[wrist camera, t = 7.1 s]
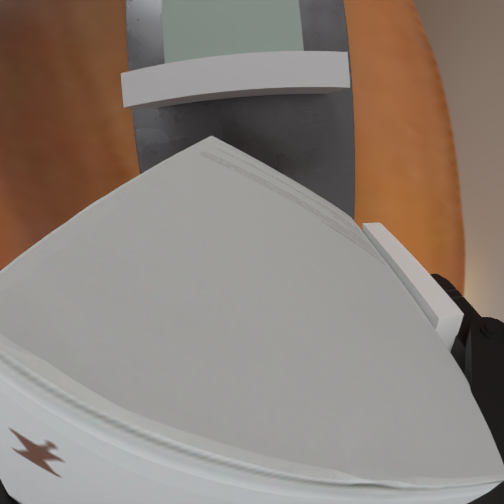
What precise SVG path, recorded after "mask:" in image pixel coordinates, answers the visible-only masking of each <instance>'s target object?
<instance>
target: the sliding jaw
mask: <svg viewBox="0 0 504 504" xmlns="http://www.w3.org/2000/svg"><path fill="white" fill-rule="evenodd" d="M161 3H162V26H163V44H164V59H165V64H161V65H156V66H151V67H146V68H142V69H137V70H133V71H129V72H124V73H121V83H122V95H123V105H124V108H158V107H164V106H171V105H177V104H184V103H191V102H198V101H207V100H215V99H225V98H235V97H248V96H262V95H282V94H328V93H332V92H335V91H339V90H343V89H347V88H350V76H349V64H348V52H335V51H304V47H303V36H302V26H301V17H300V8H299V0H161Z"/></svg>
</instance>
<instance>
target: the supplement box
mask: <svg viewBox="0 0 504 504" xmlns="http://www.w3.org/2000/svg"><path fill="white" fill-rule="evenodd" d="M0 479H1V481H2V483H3V485H4V487H5V489H6V491H7V493H8V494H9V495H10V497H12V498H13V499H14V500H15V501H16V502H18V503H19V504H467V503H469V502H471V501H473V500H475V499H477V498H479V497H481V496H482V495H484V494H486V493H488V492H489V491H491V490H492V489H493V488H495V487H496V486H497V485H499V484H500V483H501V482H503V481H504V464H503V461H502V459H501V456H500V454H499V451H498V449H497V447H496V444H495V442H494V439H493V437H492V434H491V432H490V430H489V427H488V425H487V423H486V421H485V419H484V417H483V415H482V413H481V411H480V409H479V407H478V405H477V403H476V401H475V399H474V397H473V395H472V393H471V388H470V384H469V382H468V380H467V379H466V377H465V375H464V374H463V372H462V370H461V369H460V367H459V366H458V364H457V362H456V361H455V359H454V358H453V356H452V354H451V353H450V351H449V350H448V348H447V347H446V345H445V344H444V342H443V341H442V339H441V338H440V336H439V335H438V333H437V332H436V330H435V329H434V327H433V326H432V324H431V323H430V321H429V320H428V319H427V317H426V316H425V314H424V313H423V311H422V310H421V309H420V307H419V306H418V304H417V303H416V302H415V300H414V299H413V297H412V296H411V295H410V293H409V292H408V290H407V289H406V288H405V286H404V285H403V284H402V282H401V281H400V280H399V278H398V277H397V276H396V274H395V273H394V272H393V270H392V269H391V268H390V266H389V265H388V264H387V262H386V261H385V260H384V259H383V257H382V256H381V255H380V253H379V252H378V251H377V250H376V248H375V247H374V246H373V245H372V243H371V242H370V241H369V239H368V238H367V237H366V235H365V234H364V233H363V232H362V230H361V229H360V228H359V226H358V225H357V224H356V223H355V221H354V220H353V219H352V218H351V217H350V216H349V215H347V214H346V213H345V212H343V211H342V210H340V209H339V208H337V207H336V206H334V205H333V204H331V203H330V202H328V201H327V200H325V199H323V198H322V197H320V196H319V195H317V194H315V193H314V192H312V191H311V190H309V189H307V188H306V187H304V186H302V185H301V184H299V183H297V182H295V181H294V180H292V179H290V178H289V177H287V176H285V175H283V174H282V173H280V172H278V171H276V170H275V169H273V168H271V167H269V166H268V165H266V164H264V163H262V162H260V161H259V160H257V159H255V158H253V157H251V156H249V155H248V154H246V153H244V152H242V151H240V150H238V149H237V148H235V147H233V146H231V145H229V144H227V143H225V142H223V141H221V140H219V139H217V138H215V137H214V136H210V137H208V138H206V139H204V140H202V141H200V142H198V143H196V144H194V145H192V146H190V147H188V148H187V149H185V150H183V151H181V152H179V153H177V154H175V155H173V156H172V157H170V158H168V159H166V160H164V161H162V162H161V163H159V164H157V165H156V166H154V167H152V168H150V169H149V170H147V171H145V172H144V173H142V174H140V175H138V176H137V177H135V178H133V179H132V180H130V181H128V182H127V183H125V184H123V185H122V186H120V187H118V188H117V189H115V190H114V191H112V192H110V193H109V194H107V195H106V196H104V197H102V198H100V199H98V200H97V201H95V202H94V203H92V204H91V205H89V206H88V207H87V208H85V209H84V210H82V211H81V212H79V213H78V214H77V215H75V216H74V217H73V218H71V219H70V220H69V221H67V222H66V223H64V224H63V225H61V226H60V227H58V228H57V229H55V230H54V231H52V232H51V233H50V234H48V235H47V236H45V237H44V238H43V239H41V240H40V241H39V242H37V243H36V244H34V245H33V246H32V247H30V248H29V249H28V250H27V251H25V252H24V253H23V254H21V255H20V256H19V257H17V258H16V259H15V260H14V261H12V262H11V263H10V264H9V265H7V266H6V267H5V268H4V269H2V270H1V271H0Z"/></svg>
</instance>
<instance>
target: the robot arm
mask: <svg viewBox="0 0 504 504" xmlns="http://www.w3.org/2000/svg"><path fill="white" fill-rule="evenodd" d="M362 232H363V233H364V234H365V235H366V237H367V238H368V239H369V241H370V242H371V243H372V245H373V246H374V247H375V248H376V250H377V251H378V252H379V253H380V255H381V256H382V257H383V259H384V260H385V261H386V262H387V264H388V265H389V266H390V268H391V269H392V270H393V272H394V273H395V274H396V276H397V277H398V278H399V280H400V281H401V282H402V284H403V285H404V286H405V288H406V289H407V290H408V292H409V293H410V295H411V296H412V297H413V299H414V300H415V302H416V303H417V304H418V306H419V307H420V309H421V310H422V311H423V313H424V314H425V316H426V317H427V319H428V320H429V321H430V323H431V324H432V326H433V327H434V329H435V330H436V332H437V333H438V335H439V336H440V338H441V339H442V341H443V342H444V344H445V345H446V347H447V348H448V350H449V351H450V353H451V354H452V356H453V358H454V359H455V361H456V362H457V364H458V366H459V367H460V369H461V370H462V372H463V374H464V375H465V377H466V379H467V380H468V382H469V384H470V388H471V393H472V395H473V397H474V399H475V401H476V403H477V405H478V407H479V409H480V411H481V413H482V415H483V417H484V419H485V421H486V423H487V425H488V427H489V430H490V432H491V434H492V437H493V439H494V442H495V444H496V447H497V449H498V451H499V454H500V456H501V459H502V461H503V464H504V323H503V322H501V321H499V320H497V319H494V318H491V317H481V316H480V315H479V314H478V313H477V312H476V310H475V309H474V308H473V307H472V306H471V305H470V304H469V303H468V302H467V300H466V299H465V298H464V297H462V295H461V294H460V292H459V291H458V290H456V288H455V287H454V286H453V285H452V284H451V283H450V282H449V281H448V280H447V279H445V278H443V277H442V276H440V275H438V274H429V273H428V272H427V271H426V270H425V269H424V268H423V266H422V265H421V264H420V263H419V262H418V261H417V260H416V259H415V258H414V257H413V256H412V255H411V254H410V253H409V251H408V250H407V249H406V248H405V247H404V246H403V245H402V244H401V243H400V242H399V241H398V240H397V239H396V238H395V237H394V236H393V235H392V234H391V233H390V232H389V231H388V230H387V229H386V228H385V227H384V226H383V225H382V224H381V223H363V231H362ZM0 504H19V503H18V502H16V501H15V500H14V499H13V498H12V497H10V495H9V494H8V493H7V491H6V489H5V487H4V485H3V483H2V481H1V479H0ZM467 504H504V481H503V482H501V483H500V484H499V485H497V486H496V487H495V488H493V489H492V490H491V491H489V492H488V493H486V494H484V495H482V496H481V497H479V498H477V499H475V500H473V501H471V502H469V503H467Z"/></svg>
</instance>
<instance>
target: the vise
mask: <svg viewBox="0 0 504 504" xmlns="http://www.w3.org/2000/svg"><path fill="white" fill-rule="evenodd" d="M299 8H300V17H301V26H302V36H303V47H304V51H335V52H348V64H349V76H350V88H347V89H343V90H339V91H335V92H332V93H328V94H282V95H262V96H248V97H235V98H225V99H215V100H207V101H198V102H191V103H184V104H177V105H171V106H164V107H158V108H132V113H133V122H134V131H135V139H136V147H137V154H138V162H139V169H140V174H142V173H144V172H145V171H147V170H149V169H150V168H152V167H154V166H156V165H157V164H159V163H161V162H162V161H164V160H166V159H168V158H170V157H172V156H173V155H175V154H177V153H179V152H181V151H183V150H185V149H187V148H188V147H190V146H192V145H194V144H196V143H198V142H200V141H202V140H204V139H206V138H208V137H210V136H214V137H215V138H217V139H219V140H221V141H223V142H225V143H227V144H229V145H231V146H233V147H235V148H237V149H238V150H240V151H242V152H244V153H246V154H248V155H249V156H251V157H253V158H255V159H257V160H259V161H260V162H262V163H264V164H266V165H268V166H269V167H271V168H273V169H275V170H276V171H278V172H280V173H282V174H283V175H285V176H287V177H289V178H290V179H292V180H294V181H295V182H297V183H299V184H301V185H302V186H304V187H306V188H307V189H309V190H311V191H312V192H314V193H315V194H317V195H319V196H320V197H322V198H323V199H325V200H327V201H328V202H330V203H331V204H333V205H334V206H336V207H337V208H339V209H340V210H342V211H343V212H345V213H346V214H347V215H349V216H350V217H351V218H352V219H353V220H354V198H355V147H354V115H353V95H352V80H351V66H350V55H349V45H348V35H347V26H346V18H345V10H344V3H343V0H299ZM126 24H127V49H128V66H129V71H133V70H137V69H142V68H146V67H151V66H156V65H161V64H165V59H164V44H163V26H162V3H161V0H126Z"/></svg>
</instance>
